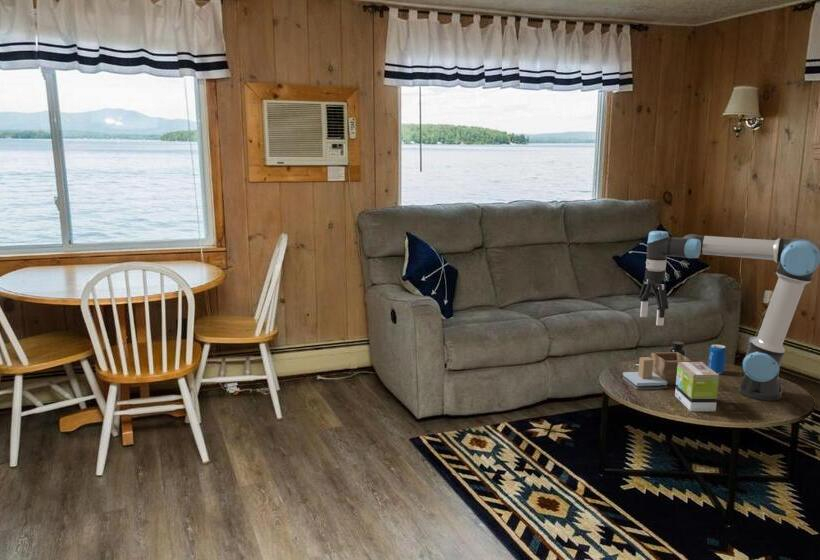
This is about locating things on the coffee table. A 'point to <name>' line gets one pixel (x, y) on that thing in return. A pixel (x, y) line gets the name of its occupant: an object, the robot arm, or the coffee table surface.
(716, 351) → the beverage can
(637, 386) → the mat
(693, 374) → the tea box
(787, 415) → the coffee table surface
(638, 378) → the lid
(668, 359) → the box
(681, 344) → the supplement bottle
